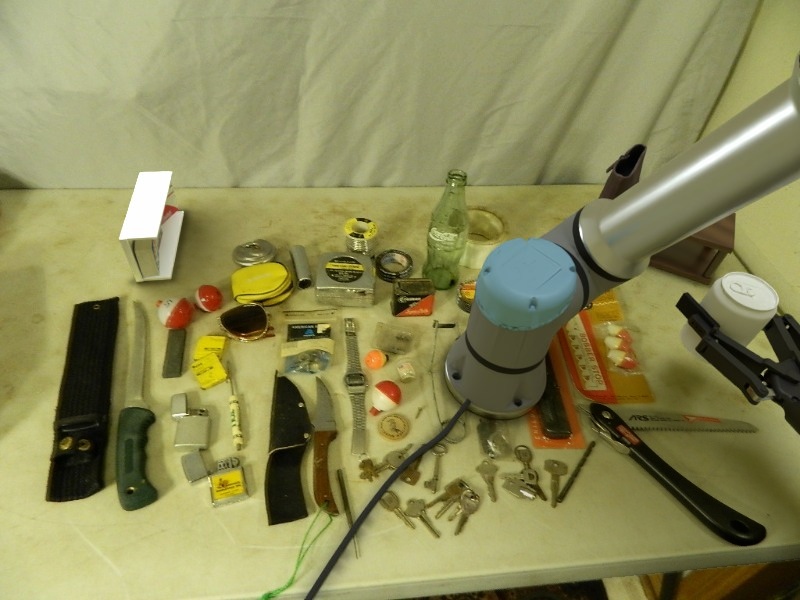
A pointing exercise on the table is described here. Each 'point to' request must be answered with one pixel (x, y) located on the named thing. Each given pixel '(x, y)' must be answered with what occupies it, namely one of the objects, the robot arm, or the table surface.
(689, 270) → the rack
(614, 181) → the boot
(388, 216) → the table surface
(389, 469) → the table surface
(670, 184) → the robot arm
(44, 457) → the table surface
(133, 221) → the cigarette display
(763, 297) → the beverage can
